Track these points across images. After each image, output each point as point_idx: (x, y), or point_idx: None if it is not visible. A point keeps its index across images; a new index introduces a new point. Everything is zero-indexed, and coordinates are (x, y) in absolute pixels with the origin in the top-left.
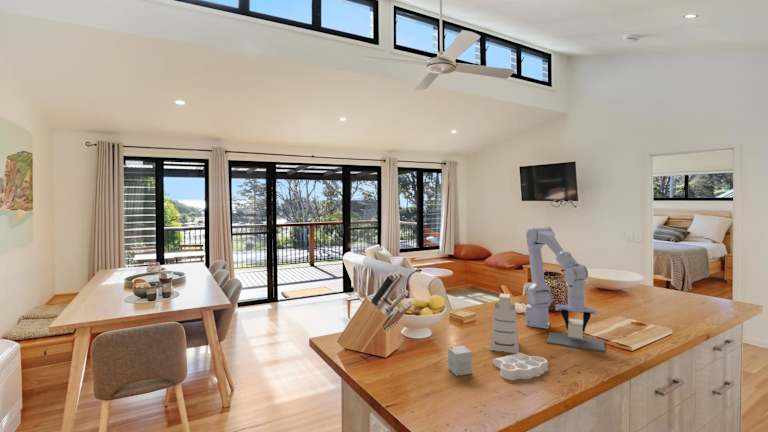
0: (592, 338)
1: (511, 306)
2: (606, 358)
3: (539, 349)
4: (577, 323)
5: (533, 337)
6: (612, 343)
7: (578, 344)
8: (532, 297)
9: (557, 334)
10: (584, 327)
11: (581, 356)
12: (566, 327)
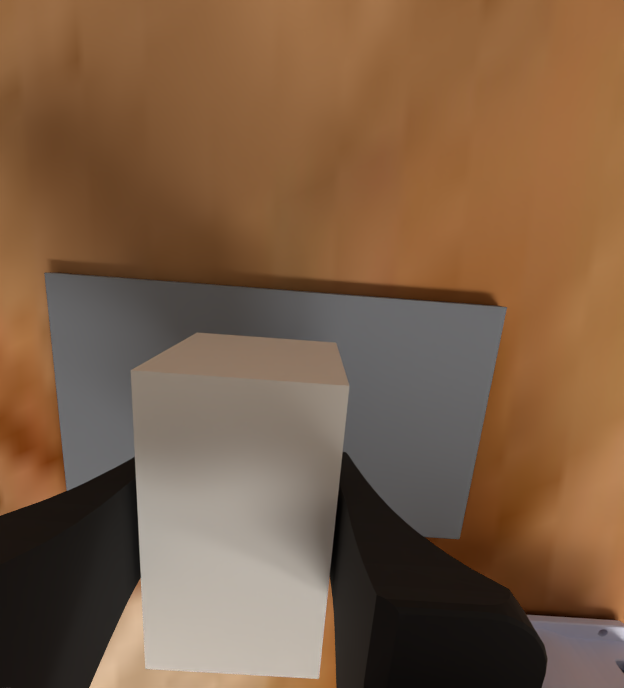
0: None
1: None
2: (33, 128)
3: (579, 113)
4: (210, 509)
5: (591, 398)
6: (21, 487)
7: None
8: None
9: (402, 506)
10: (134, 463)
11: (227, 86)
12: (354, 464)
